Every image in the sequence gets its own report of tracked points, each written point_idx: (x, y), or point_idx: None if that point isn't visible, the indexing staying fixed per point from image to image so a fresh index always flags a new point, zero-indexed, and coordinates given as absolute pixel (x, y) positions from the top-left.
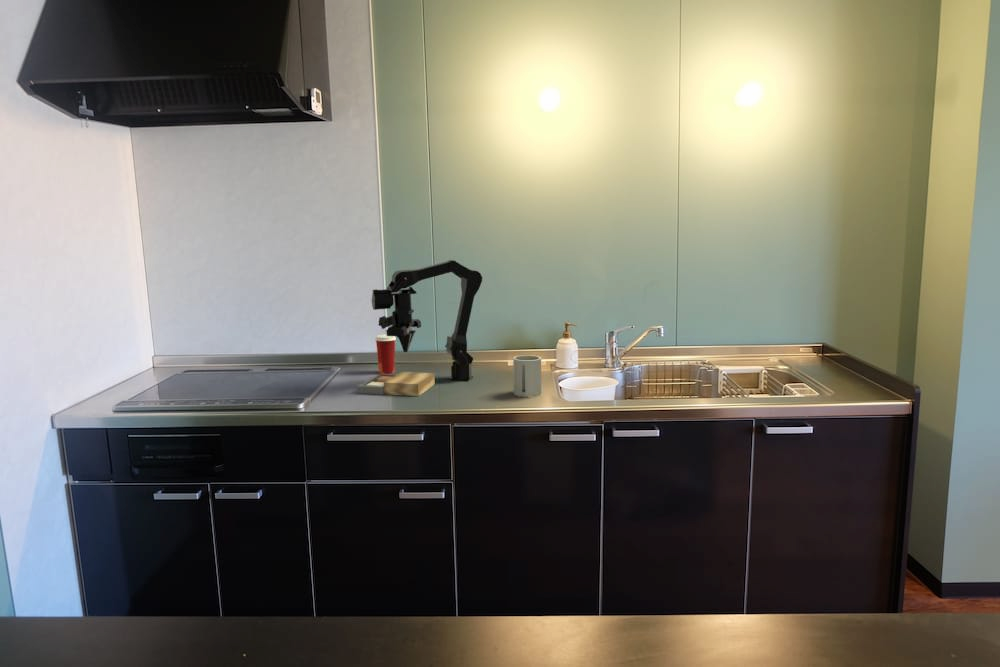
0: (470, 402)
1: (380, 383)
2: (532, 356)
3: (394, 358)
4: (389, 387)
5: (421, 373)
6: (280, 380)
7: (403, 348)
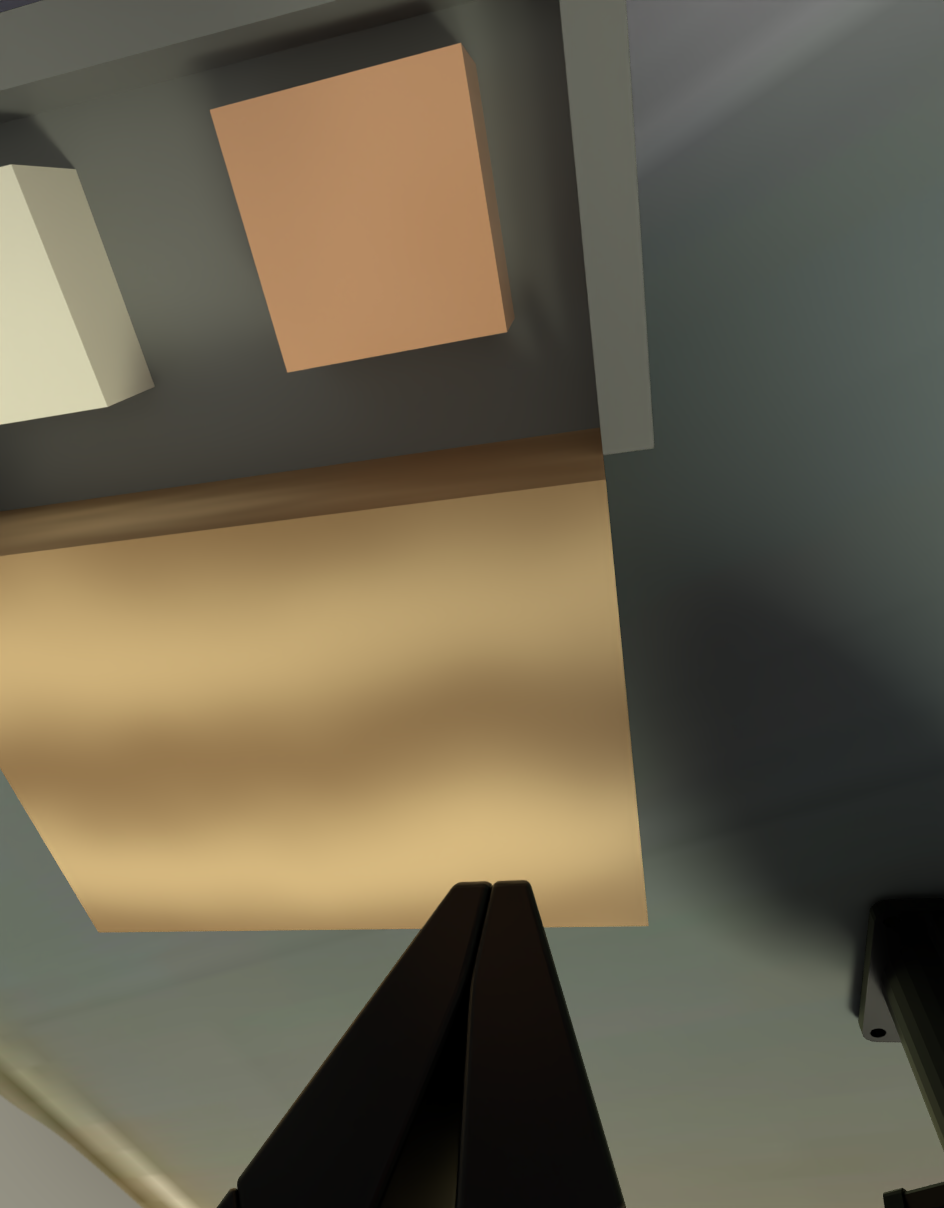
0: (240, 1127)
1: (29, 384)
2: None
3: None
4: None
5: (577, 802)
6: None
7: (397, 994)
